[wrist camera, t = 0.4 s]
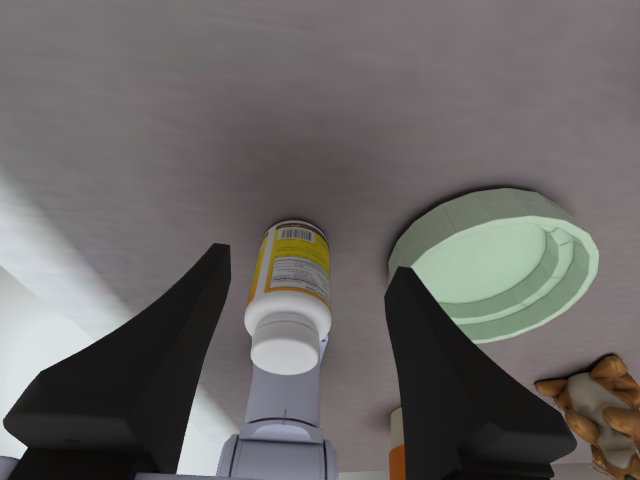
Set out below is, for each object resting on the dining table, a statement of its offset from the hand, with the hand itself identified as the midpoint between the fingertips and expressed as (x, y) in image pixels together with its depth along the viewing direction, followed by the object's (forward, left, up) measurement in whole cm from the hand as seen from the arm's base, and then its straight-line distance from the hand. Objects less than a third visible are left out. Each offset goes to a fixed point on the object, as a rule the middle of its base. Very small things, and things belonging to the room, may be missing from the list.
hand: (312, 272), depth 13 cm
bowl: (-6, -14, -10) cm, 19 cm away
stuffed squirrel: (-25, -40, -10) cm, 49 cm away
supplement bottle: (-7, +1, -10) cm, 13 cm away
